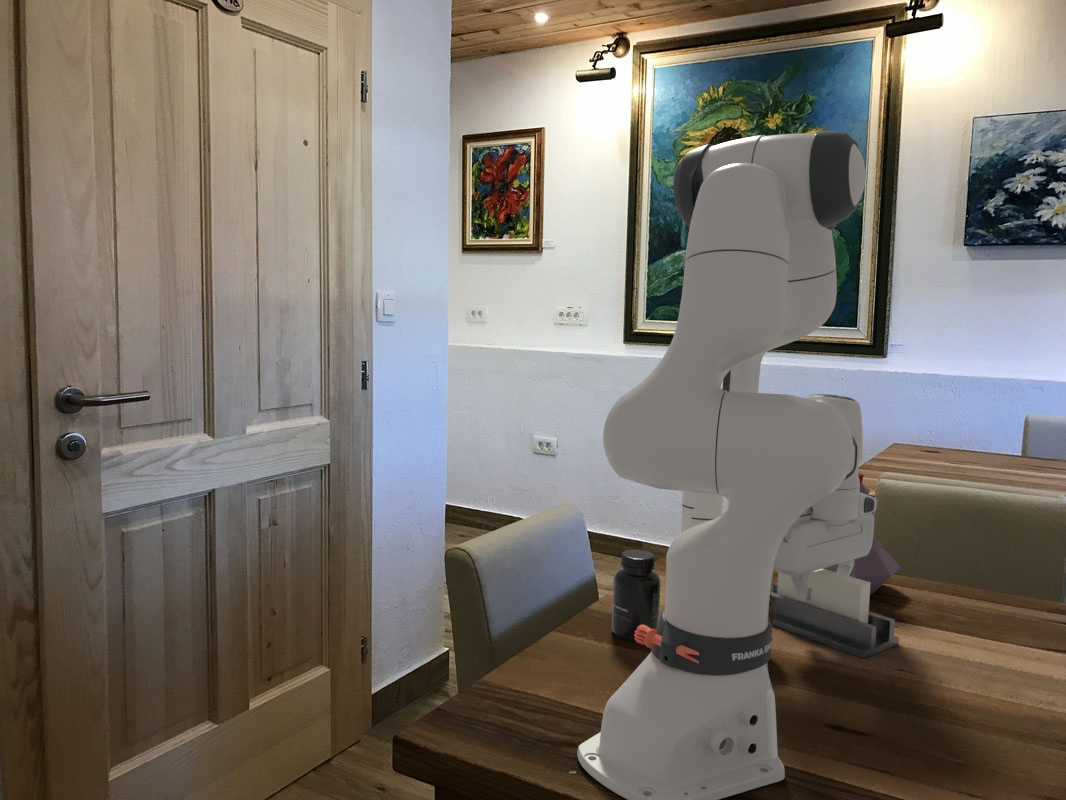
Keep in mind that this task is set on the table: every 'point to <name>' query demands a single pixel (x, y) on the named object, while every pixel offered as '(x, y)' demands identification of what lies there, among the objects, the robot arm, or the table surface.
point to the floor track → (834, 627)
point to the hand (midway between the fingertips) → (821, 593)
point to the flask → (872, 560)
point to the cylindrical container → (699, 508)
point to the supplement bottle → (635, 594)
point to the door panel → (832, 593)
